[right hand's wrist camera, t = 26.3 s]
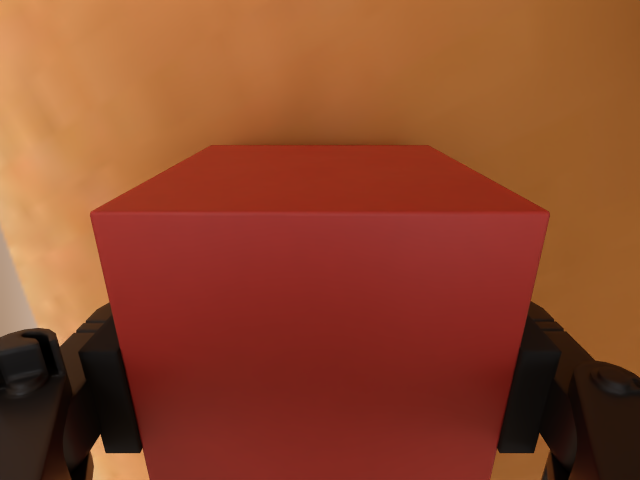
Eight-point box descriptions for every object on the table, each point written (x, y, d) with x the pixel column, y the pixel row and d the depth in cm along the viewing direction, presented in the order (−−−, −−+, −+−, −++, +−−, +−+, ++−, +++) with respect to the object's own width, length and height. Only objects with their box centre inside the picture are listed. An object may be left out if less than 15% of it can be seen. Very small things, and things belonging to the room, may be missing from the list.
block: (429, 144, 14) (552, 211, 7) (410, 337, 17) (479, 531, 10) (209, 144, 14) (86, 211, 7) (229, 337, 17) (160, 531, 10)
